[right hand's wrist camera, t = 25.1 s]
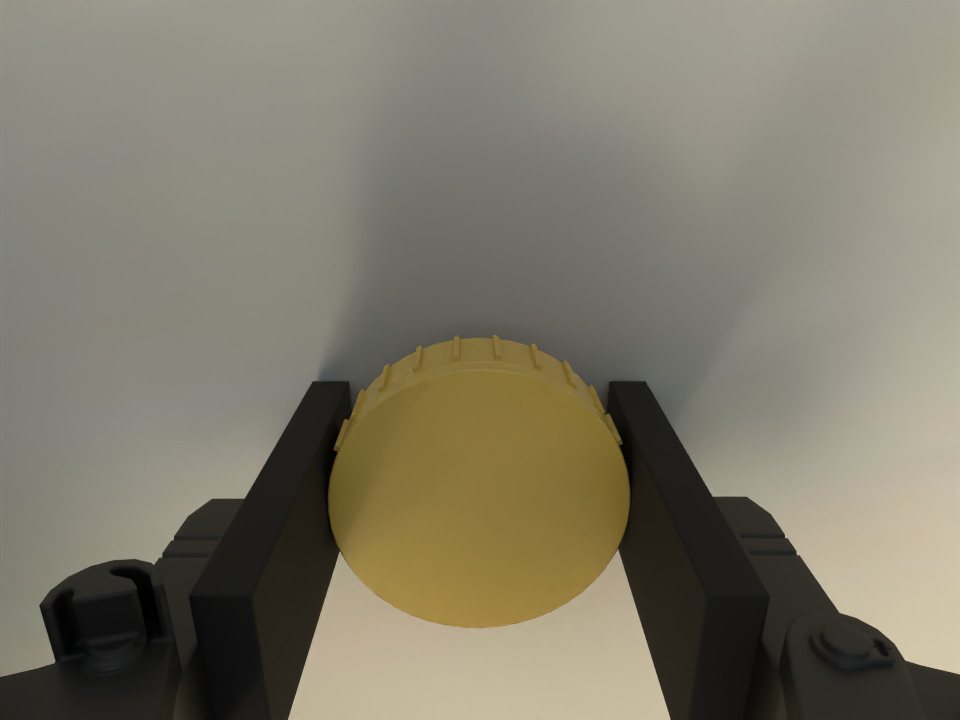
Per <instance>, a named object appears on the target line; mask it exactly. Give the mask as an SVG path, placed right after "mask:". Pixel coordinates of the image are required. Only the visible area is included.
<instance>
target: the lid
mask: <svg viewBox="0 0 960 720" xmlns="http://www.w3.org/2000/svg"><path fill="white" fill-rule="evenodd" d="M621 444H623V443H622V440H621V438H620V436H619V434H618V431H617V429H616V427H615V425H614V423H613V420H612V418H611V416H610V414H606V415H605V410H604V408H603V406H602V404H601V401H600V399H599V397H598V395H597V393H596V390H595V388H594V387H593V385H592V384H591V385H590V386H587V385H586V384H585V383H584V381H583V380H582V379H581V378H580V377H579V376H578V375H577V374H576V373H574V372H573V371H572V369H571V367H570V364H569V363H568V362H567V361H566V360H565V361H564V362H563V363H562V362H560V361H558V360H557V359H555V358H554V357H552V356H550V355H549V354H546V353H544V352H542V351H540V350H538V349H537V346H536V345H535V344H532V343H531V345H530V346H527V345H524V344H520V343H517V342H513V341H507V340H501V339H499V335H493V338H466V339H460V336H454V340H451V341H446V342H441V343H437V344H434V345H431V346H428V347H426V348H423V347H422V346H418V347H416V352H414V353H412V354H410V355H408V356H406V357H404V358H402V359H401V360H399V361H398V362H396V363H395V364H393V365H392V366H390V365H389V364H387V365H385V366H384V368H383V372H382V374H381V375H380V376H378V377H377V378H376V379H375V380H374V381H373V383H372V384H371V385H370V386H369V387H368V388H367V390H366V391H364V390H363V389H361V391H360V392H359V394H358V397H357V400H356V403H355V406H354V408H353V411H352V414H351V416H350V419H349V420H347V419H344V422H343V425H342V428H341V430H340V433H339V436H338V439H337V441H336V444H335V447H334V450H335V451H338V452H337V455H336V458H335V461H334V464H333V468H332V471H331V475H330V479H329V487H328V514H329V519H330V524H331V529H332V532H333V535H334V538H335V541H336V543H337V546H338V548H339V550H340V552H341V554H342V555H343V557H344V559H345V561H346V562H347V564H348V565H349V567H350V568H351V569H352V571H353V572H354V574H355V575H356V576H357V577H358V578H359V579H360V580H361V581H362V582H363V583H364V584H365V585H366V586H367V587H368V588H369V589H370V590H371V591H373V592H374V593H375V594H376V595H377V596H379V597H380V598H381V599H383V600H384V601H386V602H388V603H389V604H391V605H392V606H394V607H396V608H398V609H400V610H402V611H404V612H406V613H408V614H410V615H412V616H415V617H418V618H421V619H424V620H427V621H430V622H434V623H439V624H443V625H448V626H456V627H466V628H487V627H499V626H505V625H511V624H516V623H520V622H523V621H527V620H530V619H534V618H536V617H539V616H541V615H544V614H546V613H549V612H551V611H553V610H555V609H557V608H558V607H560V606H562V605H564V604H566V603H567V602H569V601H570V600H572V599H573V598H575V597H576V596H577V595H579V594H580V593H582V592H583V591H584V590H585V589H586V588H587V587H588V586H589V585H590V584H592V583H593V582H594V581H595V580H596V579H597V577H598V576H599V575H600V574H601V573H602V572H603V570H604V569H605V568H606V567H607V565H608V564H609V562H610V561H611V559H612V558H613V556H614V555H615V553H616V551H617V549H618V547H619V545H620V542H621V540H622V538H623V535H624V532H625V529H626V525H627V522H628V517H629V511H630V481H629V474H628V469H627V466H626V463H625V460H624V457H623V454H622V451H621V449H620V447H619V445H621Z"/></svg>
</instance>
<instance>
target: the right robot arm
mask: <svg viewBox="0 0 960 720" xmlns="http://www.w3.org/2000/svg"><path fill="white" fill-rule="evenodd" d="M607 414H610V416H611V418H612V420H613V423H614V425H615V427H616V429H617V431H618V434H619V436H620V438H621V440H622V443H623V444H621V445H619V447H620V449H621V451H622V454H623V457H624V460H625V463H626V466H627V469H628V474H629V481H630V511H629V517H628V522H627V525H626V529H625V532H624V535H623V538H622V540H621V542H620V545H619V547H618V549H619V553H620V556H621V559H622V562H623V566H624V569H625V572H626V575H627V579H628V582H629V585H630V588H631V592H632V595H633V598H634V601H635V605H636V608H637V611H638V614H639V618H640V621H641V624H642V627H643V631H644V634H645V637H646V640H647V644H648V647H649V650H650V653H651V657H652V660H653V663H654V666H655V670H656V673H657V676H658V679H659V683H660V686H661V689H662V692H663V696H664V699H665V702H666V705H667V709H668V712H669V715H670V718H671V720H960V674H955V673H951V672H947V671H943V670H938V669H934V668H930V667H925V666H921V665H918V664H914V663H911V662H908V661H905V660H904V658H903V657H902V655H901V653H900V652H899V650H898V649H897V647H896V646H895V644H894V643H893V642H892V641H890V640H889V639H888V638H887V637H886V636H885V635H883V634H882V633H881V632H880V631H879V630H878V629H876V628H874V627H872V626H870V625H868V624H866V623H865V622H863V621H861V620H859V619H857V618H854V617H851V616H848V615H844V614H841V613H839V612H838V610H837V609H836V607H835V606H834V604H833V603H832V602H831V600H830V599H829V597H828V596H827V594H826V593H825V591H824V590H823V589H822V587H821V586H820V584H819V583H818V581H817V580H816V579H815V577H814V576H813V574H812V573H811V571H810V570H809V568H808V567H807V566H806V564H805V563H804V561H803V560H802V558H801V557H800V556H799V555H797V554H796V550H795V548H794V547H793V545H792V544H791V543H790V541H789V540H788V538H785V534H784V533H783V531H782V530H781V528H780V527H779V525H778V524H777V522H776V521H775V520H774V518H773V517H772V515H771V514H770V513H768V512H767V511H766V510H764V509H763V508H762V507H760V506H759V505H757V504H756V503H755V502H753V501H752V500H750V499H749V498H748V497H712V495H711V493H710V492H709V490H708V488H707V486H706V485H705V483H704V481H703V480H702V478H701V476H700V474H699V473H698V471H697V469H696V468H695V466H694V464H693V462H692V461H691V459H690V457H689V455H688V454H687V452H686V450H685V449H684V447H683V445H682V443H681V442H680V440H679V438H678V437H677V435H676V433H675V431H674V430H673V428H672V426H671V424H670V423H669V421H668V419H667V418H666V416H665V414H664V412H663V411H662V409H661V407H660V406H659V404H658V402H657V400H656V399H655V397H654V395H653V394H652V392H651V390H650V388H649V387H648V385H647V383H646V381H610V382H609V395H608V408H607ZM350 416H351V402H350V389H349V381H313V382H312V384H311V386H310V387H309V389H308V391H307V392H306V394H305V396H304V398H303V399H302V401H301V403H300V405H299V406H298V408H297V410H296V411H295V413H294V415H293V417H292V418H291V420H290V422H289V423H288V425H287V427H286V429H285V430H284V432H283V434H282V436H281V437H280V439H279V441H278V442H277V444H276V446H275V448H274V449H273V451H272V453H271V455H270V456H269V458H268V460H267V461H266V463H265V465H264V467H263V468H262V470H261V472H260V473H259V475H258V477H257V479H256V480H255V482H254V484H253V486H252V487H251V489H250V491H249V492H248V494H247V496H246V498H245V499H211V500H210V501H209V502H207V503H206V504H204V505H203V506H202V507H200V508H199V509H197V510H196V511H195V512H193V513H192V514H191V515H189V516H188V517H187V519H186V520H185V522H184V523H183V524H182V526H181V527H180V529H179V530H178V532H177V533H176V535H175V536H174V541H171V542H170V543H169V545H168V546H167V548H166V549H165V551H164V552H163V553H162V554H163V556H162V558H159V559H158V561H157V562H156V564H155V565H153V564H152V563H149V562H145V561H141V560H137V559H127V560H113V561H109V562H105V563H101V564H98V565H94V566H90V567H88V568H86V569H84V570H82V571H80V572H78V573H75V574H73V575H71V576H69V577H68V578H66V579H65V580H64V581H62V582H61V583H60V584H58V585H57V586H56V587H54V588H53V589H52V590H50V592H49V593H48V594H47V596H46V597H45V598H44V600H43V601H42V602H41V604H40V605H39V606H40V610H41V613H42V616H43V620H44V623H45V627H46V630H47V633H48V637H49V640H50V644H51V647H52V650H53V654H54V657H55V660H56V661H55V663H54V664H51V665H47V666H44V667H41V668H37V669H33V670H29V671H25V672H20V673H16V674H12V675H8V676H3V677H0V720H288V717H289V714H290V711H291V707H292V704H293V701H294V698H295V694H296V691H297V688H298V685H299V681H300V678H301V675H302V672H303V668H304V665H305V662H306V659H307V655H308V652H309V649H310V646H311V642H312V639H313V636H314V633H315V629H316V626H317V623H318V620H319V616H320V613H321V610H322V607H323V603H324V600H325V597H326V593H327V590H328V587H329V584H330V580H331V577H332V574H333V571H334V567H335V564H336V561H337V558H338V554H339V551H340V550H339V548H338V546H337V543H336V541H335V538H334V535H333V532H332V529H331V524H330V519H329V514H328V487H329V479H330V475H331V471H332V468H333V464H334V461H335V458H336V455H337V452H338V451H335V450H334V447H335V444H336V441H337V439H338V436H339V433H340V430H341V428H342V425H343V422H344V419H347V420H349V419H350Z"/></svg>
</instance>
